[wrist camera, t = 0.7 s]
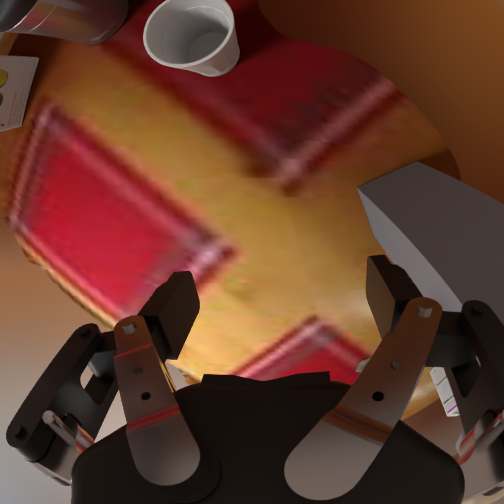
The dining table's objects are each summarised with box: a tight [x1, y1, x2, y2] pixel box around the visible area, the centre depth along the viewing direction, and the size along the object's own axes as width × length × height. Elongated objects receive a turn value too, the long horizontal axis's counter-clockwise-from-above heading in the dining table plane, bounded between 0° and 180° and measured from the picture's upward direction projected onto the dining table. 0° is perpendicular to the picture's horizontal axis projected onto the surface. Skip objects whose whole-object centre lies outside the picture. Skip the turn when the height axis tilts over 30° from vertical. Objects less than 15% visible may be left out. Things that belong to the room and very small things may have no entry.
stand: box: [357, 161, 504, 453], centre depth 19 cm, size 10×14×33 cm
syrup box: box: [429, 367, 460, 416], centre depth 45 cm, size 6×6×14 cm
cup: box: [143, 0, 240, 76], centre depth 21 cm, size 8×8×12 cm
